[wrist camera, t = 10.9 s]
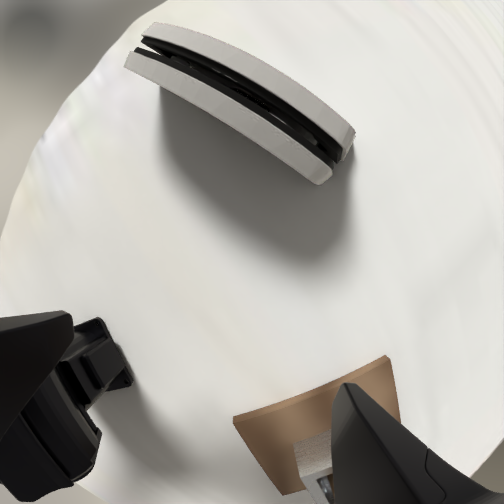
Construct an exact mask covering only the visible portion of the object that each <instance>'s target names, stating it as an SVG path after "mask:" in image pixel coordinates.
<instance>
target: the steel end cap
mask: <svg viewBox="0 0 504 504" xmlns="http://www.w3.org/2000/svg"><path fill="white" fill-rule="evenodd" d="M293 447H294V452H295V457H296V461H297V466H298V471H299V475H300V478H301V480H302V482H303V483H304V485H305V486H306V488H307V490H308V491H309V493H310V494H311V496H312V498H313V499H314V501H315V502H316V504H335V499H334V496H333V492H332V489H331V486H330V483H329V480H328V477H327V475H329V474H332V473H333V470H332V459H331V429H330V430H328V431H325V432H323V433H320V434H318V435H315V436H312V437H310V438H307V439H304V440H301V441H298V442H295V443H293Z"/></svg>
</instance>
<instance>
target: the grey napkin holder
mask: <svg viewBox="0 0 504 504" xmlns="http://www.w3.org/2000/svg"><path fill="white" fill-rule="evenodd" d="M141 36H143V37H144V38H143V39H142V40H141V42H142V43H143V44H145V45H147V46H148V47H150V48H151V49H153V50H155V51H156V52H158V53H159V54H161V55H159V54H156V53H154V52H151V51H148V50H145V49H142V48H139V47H137V48H136V49H135V50H134V52H133V51H130V52H129V54H128V57H127V59H126V62H125V64H124V67H125V68H127V69H129V70H131V71H133V72H135V73H137V74H138V75H140V76H142V77H144V78H146V79H148V80H150V81H152V82H154V83H156V84H158V85H160V86H161V87H163V88H165V89H167V90H169V91H171V92H173V93H174V94H176V95H178V96H180V97H182V98H183V99H185V100H187V101H189V102H190V103H192V104H194V105H196V106H197V107H199V108H201V109H202V110H204V111H206V112H208V113H209V114H211V115H212V116H214V117H216V118H217V119H219V120H221V121H222V122H224V123H226V124H227V125H229V126H231V127H232V128H234V129H235V130H237V131H238V132H240V133H242V134H243V135H245V136H246V137H248V138H249V139H251V140H252V141H254V142H255V143H257V144H258V145H260V146H261V147H263V148H264V149H266V150H267V151H269V152H270V153H272V154H273V155H275V156H276V157H278V158H279V159H280V160H282V161H283V162H285V163H286V164H287V165H289V166H290V167H292V168H293V169H294V170H296V171H297V172H299V173H300V174H301V175H303V176H304V177H305V178H307V179H308V180H310V181H311V182H313V183H314V184H317V185H322V184H323V183H324V182H325V181H327V180H328V179H329V178H330V177H331V176H333V174H332V169H333V161H334V162H335V163H338V162H339V160H341V161H342V162H343V161H344V159H345V157H346V155H347V153H348V151H349V149H350V147H351V145H352V143H353V141H354V139H355V137H356V136H355V133H356V132H355V130H354V129H353V127H352V126H351V125H350V124H349V123H348V122H347V121H346V120H344V119H343V118H342V117H341V116H340V115H339V114H338V113H336V112H335V111H334V110H333V109H332V108H330V107H329V106H328V105H327V104H326V103H324V102H323V101H322V100H321V99H319V98H318V97H317V96H315V95H314V94H313V93H311V92H310V91H309V90H307V89H306V88H305V87H303V86H302V85H300V84H299V83H297V82H296V81H294V80H293V79H291V78H290V77H288V76H287V75H285V74H283V73H282V72H280V71H279V70H277V69H275V68H274V67H272V66H270V65H269V64H267V63H265V62H264V61H262V60H260V59H258V58H256V57H255V56H253V55H251V54H249V53H247V52H245V51H243V50H241V49H239V48H237V47H234V46H232V45H230V44H227V43H225V42H223V41H220V40H218V39H216V38H213V37H211V36H208V35H205V34H202V33H199V32H196V31H193V30H190V29H186V28H183V27H179V26H175V25H170V24H165V23H159V22H154V23H153V24H152V25H151V26H150V27H149V28H148V29H147V30H146V31H144V32H143V33H142V34H141ZM189 66H192V67H194V68H193V69H192V68H189ZM232 89H239V90H241V91H243V92H244V93H246V94H248V95H250V96H251V97H253V98H255V99H257V100H258V101H260V102H261V103H263V104H264V105H266V106H268V107H269V109H270V112H271V113H269V112H268V111H266V110H265V109H263V108H262V107H260V106H258V105H257V104H255V103H254V102H252V101H250V100H249V99H247V98H245V97H244V96H242V95H240V94H239V93H237V92H235V91H233V90H232ZM317 142H318V143H319V145H318V147H316V146H315V144H316V143H317ZM331 159H332V160H331Z"/></svg>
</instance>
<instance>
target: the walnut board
mask: <svg viewBox="0 0 504 504" xmlns="http://www.w3.org/2000/svg"><path fill="white" fill-rule="evenodd" d="M344 382H349V383H356V384H357V385H358V386H359V387H361V388H362V389H363V390H364V391H365V392H366V393H367V394H368V395H369V396H370V397H372V398H373V399H374V400H375V401H376V402H377V403H378V404H379V405H380V406H382V407H383V408H384V409H385V410H386V411H387V412H388V413H389V414H391V415H392V416H393V417H394V418H395V419H396V420H397V421H398V422H400V423H401V419H400V412H399V405H398V399H397V392H396V387H395V381H394V376H393V370H392V365H391V361H390V359H389V358H388V357H387V356H386V355H384V356H382V357H381V358H379V359H377V360H375V361H373V362H371V363H369V364H367V365H365V366H363V367H361V368H359V369H357V370H355V371H353V372H351V373H349V374H347V375H345V376H343V377H341V378H338V379H336V380H334V381H332V382H329V383H327V384H325V385H323V386H320V387H318V388H315V389H313V390H310V391H308V392H305V393H303V394H300V395H298V396H295V397H292V398H290V399H287V400H284V401H281V402H279V403H276V404H273V405H270V406H267V407H264V408H261V409H257V410H254V411H251V412H248V413H244V414H241V415H237V416H233V424H234V426H235V428H236V429H237V431H238V432H239V434H240V436H241V437H242V439H243V440H244V442H245V443H246V445H247V446H248V448H249V449H250V451H251V452H252V454H253V455H254V457H255V458H256V460H257V461H258V463H259V464H260V466H261V467H262V468H263V470H264V471H265V473H266V474H267V475H268V477H269V478H270V480H271V481H272V482H273V484H274V485H275V486H276V488H277V489H278V490H279V492H280V493H281V494H282V495H287V494H291V493H294V492H298V491H301V490H305V489H307V488H306V486H305V485H304V483H303V482H302V480H301V478H300V475H299V471H298V466H297V461H296V457H295V452H294V447H293V443H295V442H298V441H301V440H304V439H307V438H310V437H312V436H315V435H318V434H320V433H323V432H325V431H328V430H330V429H331V418H332V403H333V401H334V398H335V396H336V394H337V392H338V390H339V387H340V385H341V384H342V383H344Z"/></svg>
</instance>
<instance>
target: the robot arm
mask: <svg viewBox="0 0 504 504" xmlns="http://www.w3.org/2000/svg"><path fill="white" fill-rule="evenodd" d="M97 322H98V323H99V325H97ZM126 380H128V381H129V382H127V381H126ZM132 383H133V379H132V377H131V376H130V374H129V372H128V370H127V368H126V367H125V364H124V362H123V360H122V358H121V356H120V354H119V352H118V350H117V348H116V346H115V344H114V342H113V340H112V339H111V337H110V335H109V333H108V331H107V329H106V327H105V324H104V322H103V320H102V319H101V318H99V317H96V318H94V319H91V320H89V321H86V322H84V323H81V324H79V325H76V326H73V319H72V316H71V315H70V314H69V313H67V312H65V311H62V310H61V311H53V312H45V313H37V314H29V315H21V316H12V317H3V318H0V484H3V485H4V486H5V487H6V488H7V489H8V490H9V491H10V493H11V494H12V495H13V496H14V497H15V498H16V499H17V500H18V501H21V502H34V501H36V500H38V499H40V498H41V497H43V496H45V495H46V494H48V493H50V492H53V491H56V490H58V489H61V488H67V487H72V486H73V485H74V483H73V482H76V481H79V480H81V479H83V478H84V477H85V476H87V475H88V474H89V473H90V472H91V470H92V469H93V467H94V465H95V461H96V457H97V452H98V448H99V444H100V440H101V436H102V432H101V431H100V429H99V428H98V427H96V425H95V424H94V422H93V421H92V419H91V418H90V416H89V415H88V413H87V412H86V411H87V410H88V409H89V408H90V407H91V406H92V405H93V404H94V403H95V401H96V400H97V399H98V398H99V397H100V396H101V395H102V394H103V393H104V392H106V391H111V390H116V389H121V388H125V387H129V386H131V385H132ZM331 459H332V470H333V483H334V498H335V504H504V493H497V492H493V491H490V490H488V489H486V488H485V487H483V486H482V485H480V484H478V483H476V482H475V481H473V480H472V479H470V478H469V477H467V476H466V475H464V474H462V473H461V472H459V471H458V470H457V469H455V468H454V467H452V466H451V465H449V464H448V463H447V462H446V461H444V460H443V459H442V458H440V457H439V456H438V455H437V454H436V453H434V452H433V451H432V450H431V449H430V448H428V447H427V446H426V445H425V444H424V443H423V442H421V441H420V440H419V439H418V438H417V437H416V436H414V435H413V434H412V433H411V432H410V431H409V430H408V429H406V428H405V427H404V426H403V425H402V424H401V423H400V422H398V421H397V420H396V419H395V418H394V417H393V416H392V415H391V414H389V413H388V412H387V411H386V410H385V409H384V408H383V407H382V406H380V405H379V404H378V403H377V402H376V401H375V400H374V399H373V398H372V397H370V396H369V395H368V394H367V393H366V392H365V391H364V390H363V389H362V388H361V387H359V386H358V385H357V384H356V383H349V382H344V383H342V384H341V385H340V387H339V390H338V392H337V394H336V396H335V398H334V401H333V403H332V418H331Z"/></svg>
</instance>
